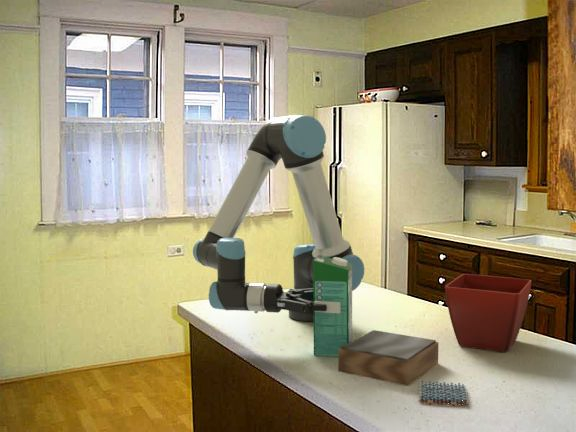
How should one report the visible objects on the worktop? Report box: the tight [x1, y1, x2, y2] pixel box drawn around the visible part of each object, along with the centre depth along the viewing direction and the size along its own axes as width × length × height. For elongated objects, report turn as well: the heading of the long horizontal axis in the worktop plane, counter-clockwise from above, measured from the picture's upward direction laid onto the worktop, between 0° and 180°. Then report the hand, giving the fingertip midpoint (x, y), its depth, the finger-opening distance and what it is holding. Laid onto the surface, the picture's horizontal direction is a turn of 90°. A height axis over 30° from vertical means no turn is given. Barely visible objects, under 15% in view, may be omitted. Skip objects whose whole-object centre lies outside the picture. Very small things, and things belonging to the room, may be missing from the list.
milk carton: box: [313, 255, 353, 358], centre depth 175 cm, size 9×9×25 cm
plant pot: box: [444, 273, 532, 353], centre depth 181 cm, size 19×19×17 cm
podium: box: [337, 329, 439, 386], centre depth 163 cm, size 18×18×6 cm
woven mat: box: [418, 380, 470, 408], centre depth 144 cm, size 10×11×2 cm
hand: (344, 301), depth 174 cm, fingers open, 13 cm apart
